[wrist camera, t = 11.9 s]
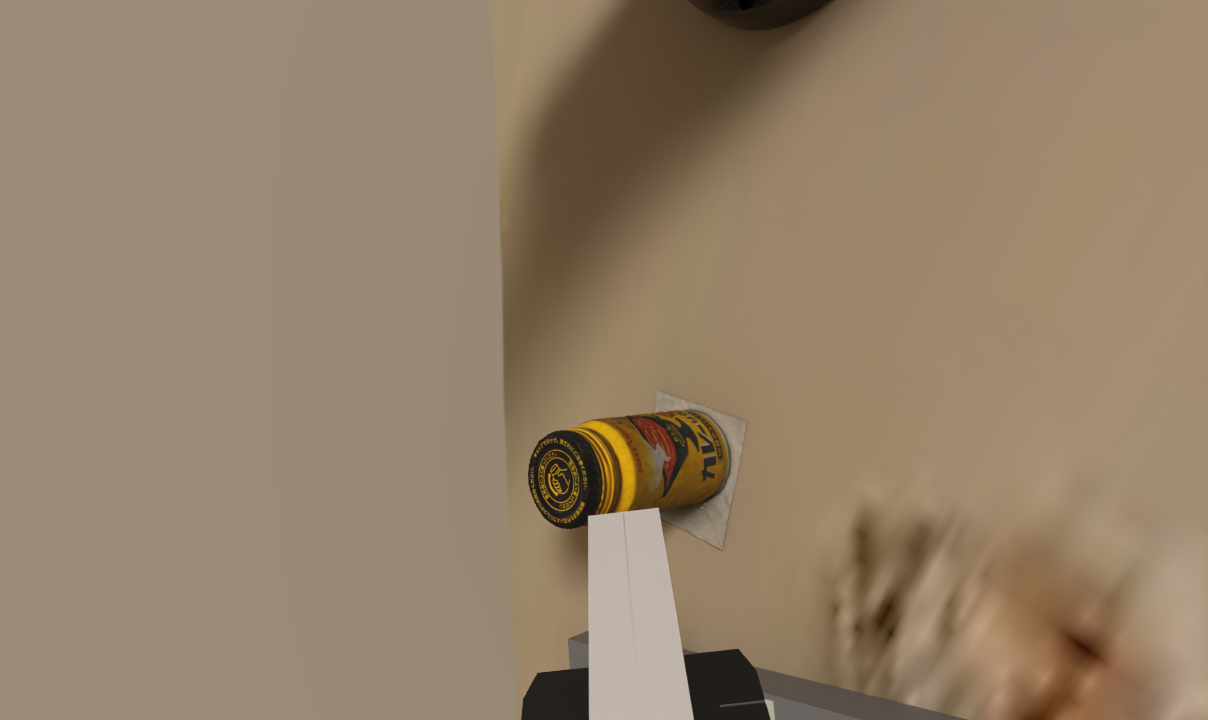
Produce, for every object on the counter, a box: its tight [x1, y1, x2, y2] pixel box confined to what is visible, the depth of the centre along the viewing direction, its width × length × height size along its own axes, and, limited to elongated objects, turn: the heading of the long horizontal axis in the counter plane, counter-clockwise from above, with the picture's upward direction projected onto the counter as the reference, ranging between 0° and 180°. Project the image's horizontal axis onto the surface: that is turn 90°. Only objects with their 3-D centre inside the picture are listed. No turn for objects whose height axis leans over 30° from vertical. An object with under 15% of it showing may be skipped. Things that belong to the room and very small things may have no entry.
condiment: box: [528, 391, 746, 550], centre depth 42 cm, size 7×8×12 cm
